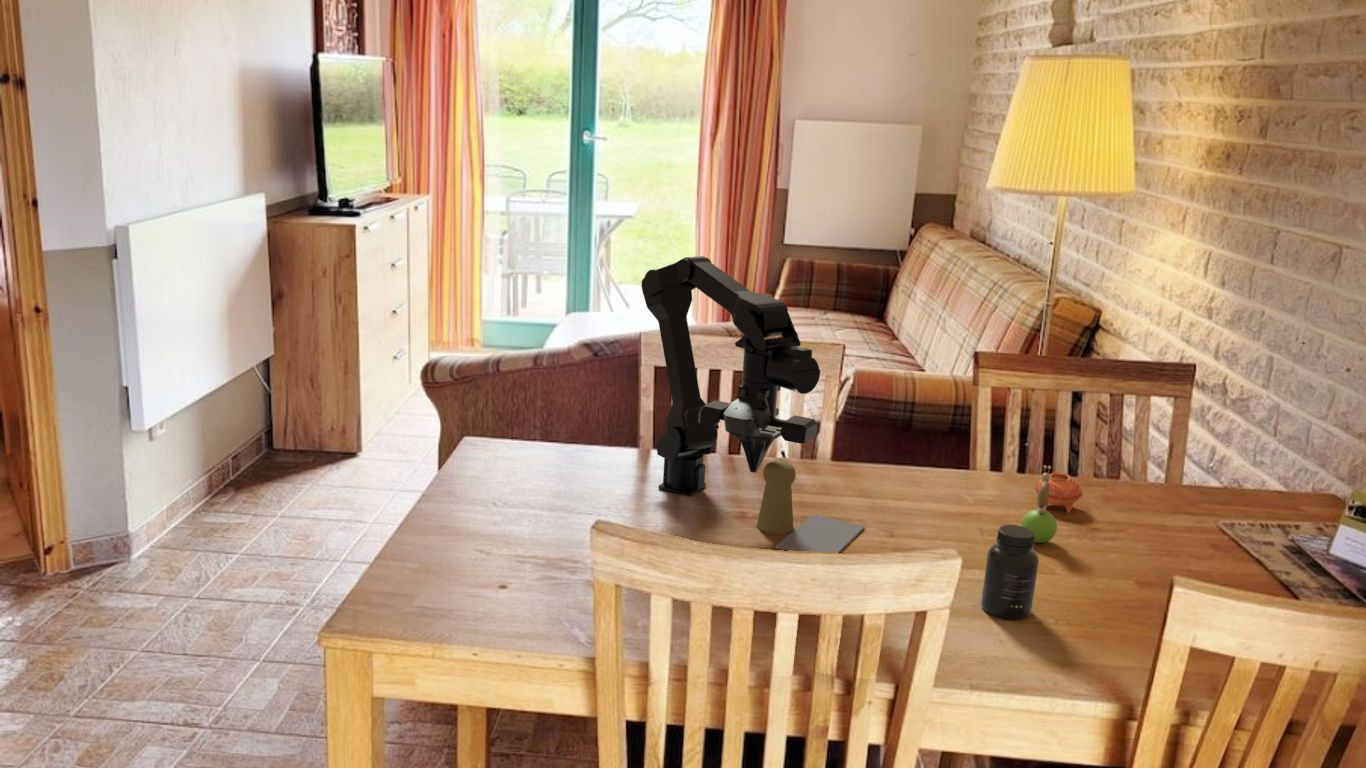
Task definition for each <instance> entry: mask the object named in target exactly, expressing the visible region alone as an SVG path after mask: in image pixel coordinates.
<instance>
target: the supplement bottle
mask: <svg viewBox="0 0 1366 768" xmlns="http://www.w3.org/2000/svg"><path fill="white" fill-rule="evenodd" d="M1034 537H1035V534H1034V532H1033V531H1032V530H1030V529H1028V528H1026V527H1023V526H1022V525H1017V524H1004V525H1001V526H999V528H998V530H997V537H996V543H994V544H992V545H991V546H990V547H989V548H988V550H987V555H986V556H987V557H986V563H985V570H984V577H983V586H982V594H981V602H980V603H981V607H982V608H983V610H984V612H986V613H987V614H989V615H990V616H993V617H994V618H998V619H1002V620H1006V621H1022V620H1025V619H1026V618H1029V616H1030V615H1031V613H1032V609H1033V604H1034V597H1035V596H1034V595H1035V590H1036V589H1035V588H1036V583H1037V576H1038V570H1039V563H1040V562H1039V561H1040V560H1039V559H1040V558H1039V556H1038V553H1037V552H1036V551H1035V549H1033V548H1034V547H1035V542H1034Z"/></svg>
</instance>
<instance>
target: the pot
mask: <svg viewBox="0 0 1366 768" xmlns="http://www.w3.org/2000/svg"><path fill="white" fill-rule="evenodd" d="M1049 475H1050V479H1049V486H1050V487H1049V499H1048V504H1050V505H1052V506H1058V507H1059V506H1060V507H1065V510H1066V514H1070V513H1071V511H1072V509H1073V505H1074V503H1076V502H1077V501H1078V500H1079V499H1080V498H1082V496H1083V490H1082V488H1081V486H1080V484H1079V483H1078V482H1076V481H1077V480H1074V479H1073V478H1072V476H1071V475H1070V474H1067V473H1064V472H1058V471H1057V472H1051V473H1049ZM1041 483H1042V478H1041V479H1040V480H1039V481H1038V482H1037V483H1036V484H1035V487H1034V489H1035V491H1036V493H1037V494H1038V491H1039V487H1040V486H1041Z"/></svg>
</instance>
